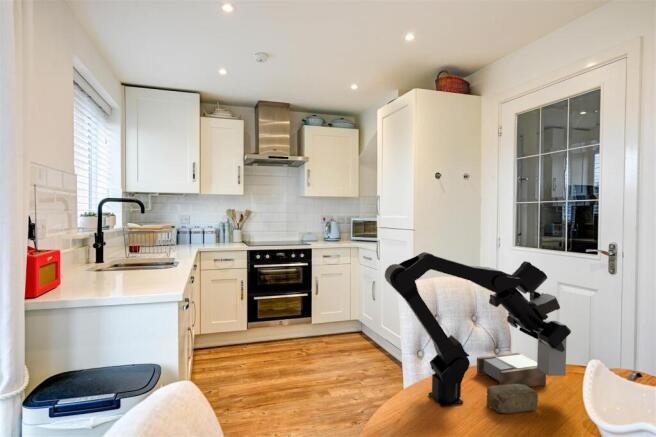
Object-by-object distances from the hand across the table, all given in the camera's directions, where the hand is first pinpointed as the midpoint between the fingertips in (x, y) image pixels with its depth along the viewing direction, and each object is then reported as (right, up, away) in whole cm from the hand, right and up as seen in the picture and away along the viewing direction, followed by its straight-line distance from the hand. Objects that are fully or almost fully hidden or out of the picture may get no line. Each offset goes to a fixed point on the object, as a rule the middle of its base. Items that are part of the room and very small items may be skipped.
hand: (556, 347), depth 96 cm
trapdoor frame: (-7, -13, +11) cm, 18 cm away
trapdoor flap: (-6, -12, +11) cm, 17 cm away
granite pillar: (-1, -7, 0) cm, 7 cm away
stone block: (-15, -14, -5) cm, 21 cm away
